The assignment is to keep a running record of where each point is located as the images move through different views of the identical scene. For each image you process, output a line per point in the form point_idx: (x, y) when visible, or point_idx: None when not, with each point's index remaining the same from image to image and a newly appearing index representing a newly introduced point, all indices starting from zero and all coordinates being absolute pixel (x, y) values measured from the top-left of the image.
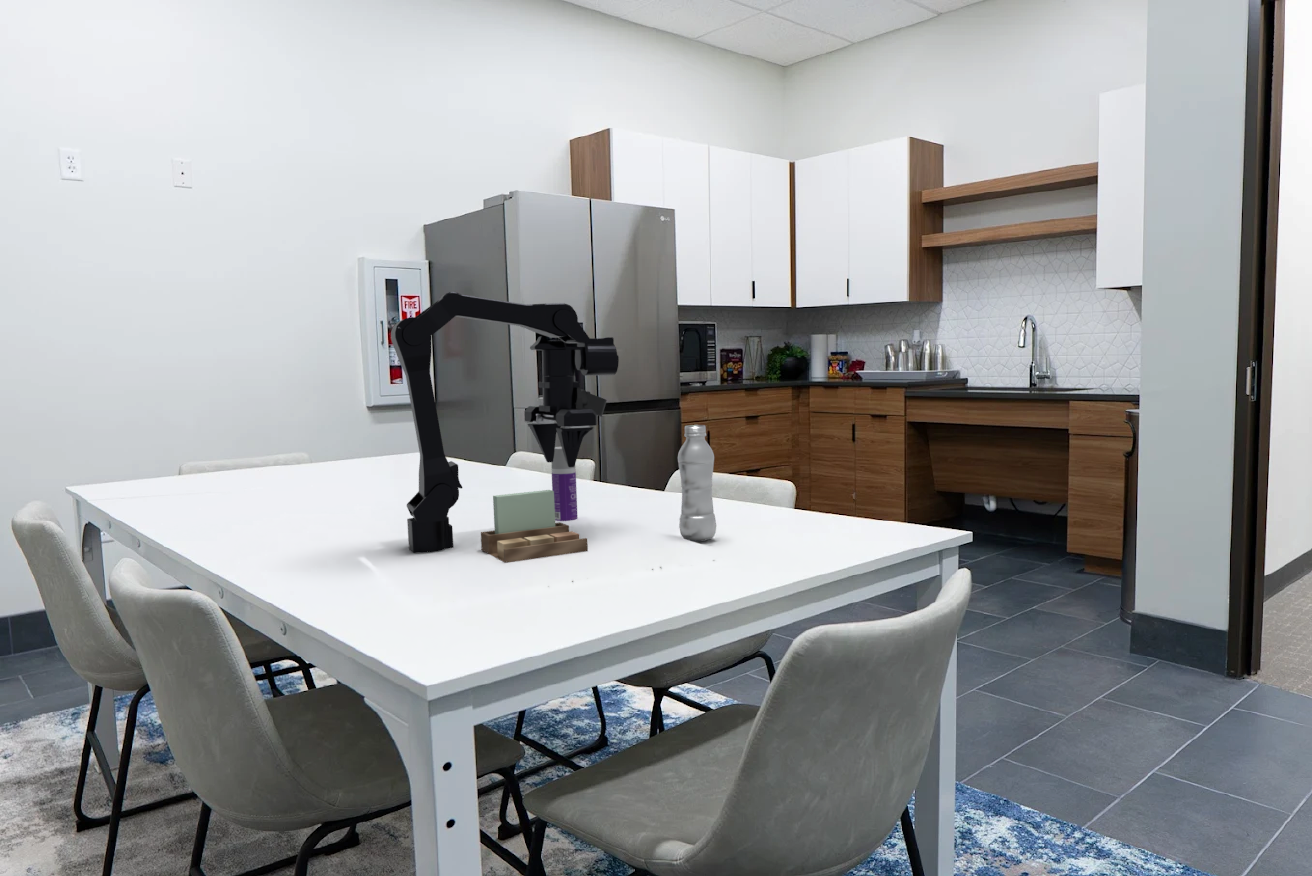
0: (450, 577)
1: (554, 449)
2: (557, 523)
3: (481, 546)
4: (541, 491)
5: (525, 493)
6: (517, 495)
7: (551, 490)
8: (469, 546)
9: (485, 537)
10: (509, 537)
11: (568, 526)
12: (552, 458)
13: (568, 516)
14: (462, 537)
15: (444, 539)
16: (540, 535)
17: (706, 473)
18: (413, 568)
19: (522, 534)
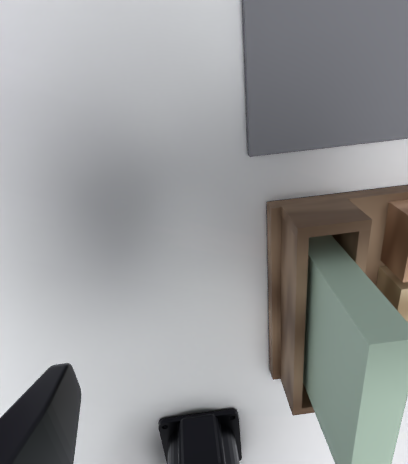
0: (404, 420)
1: (23, 447)
2: (308, 239)
3: (283, 386)
4: (388, 375)
5: (385, 422)
6: (394, 441)
7: (396, 341)
8: (158, 377)
9: None
10: None
11: (370, 219)
12: (64, 387)
13: None
14: (35, 379)
15: (226, 448)
16: (400, 305)
17: None
18: (298, 456)
19: None
